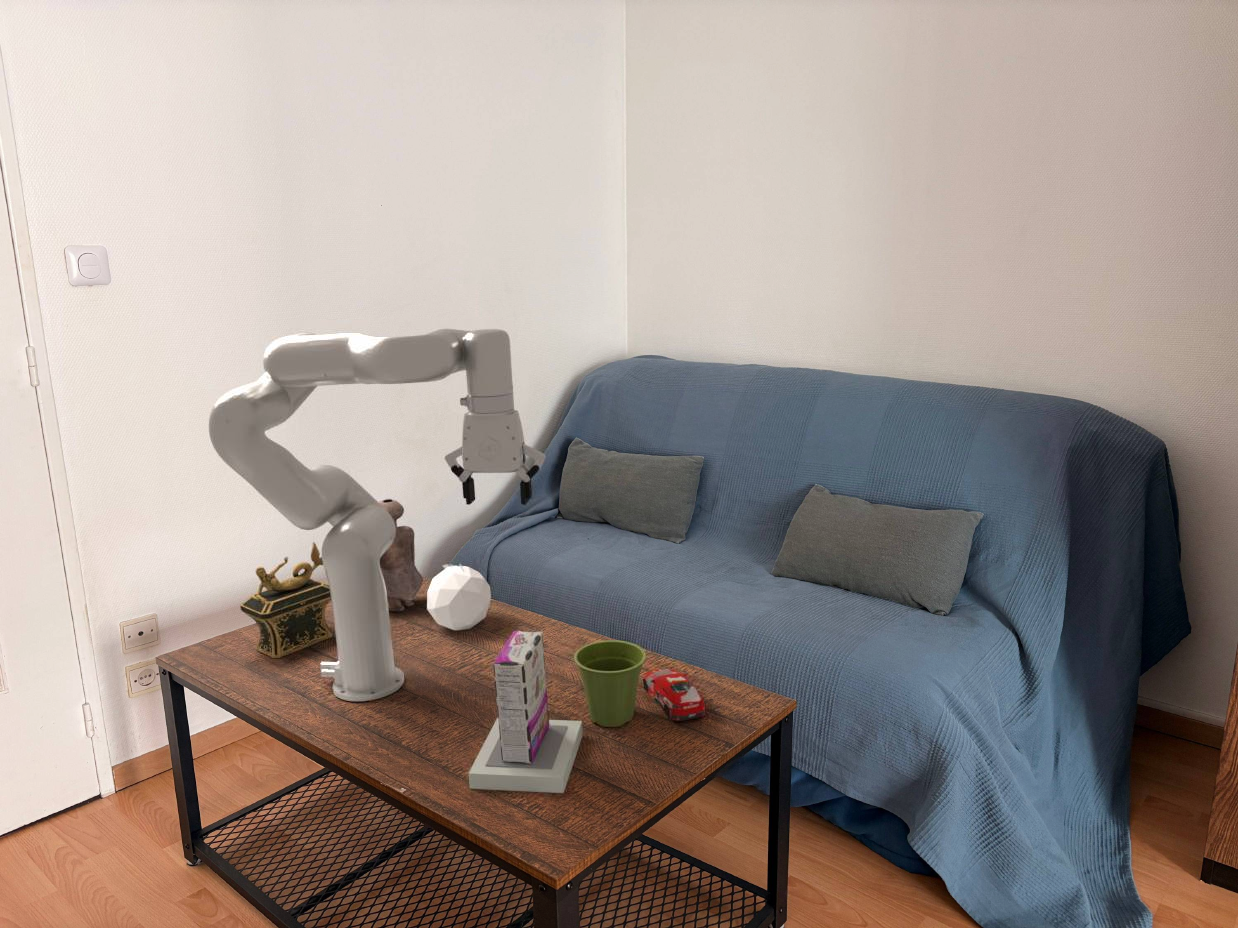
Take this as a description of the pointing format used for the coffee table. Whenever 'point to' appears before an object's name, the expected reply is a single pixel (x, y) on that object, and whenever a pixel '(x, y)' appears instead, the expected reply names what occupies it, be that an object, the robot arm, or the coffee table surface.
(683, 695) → the race car
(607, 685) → the plant pot
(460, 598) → the geodesic sphere
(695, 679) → the coffee table surface
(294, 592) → the decorative box
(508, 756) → the candy bar box
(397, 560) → the clay figurine
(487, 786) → the picture frame
